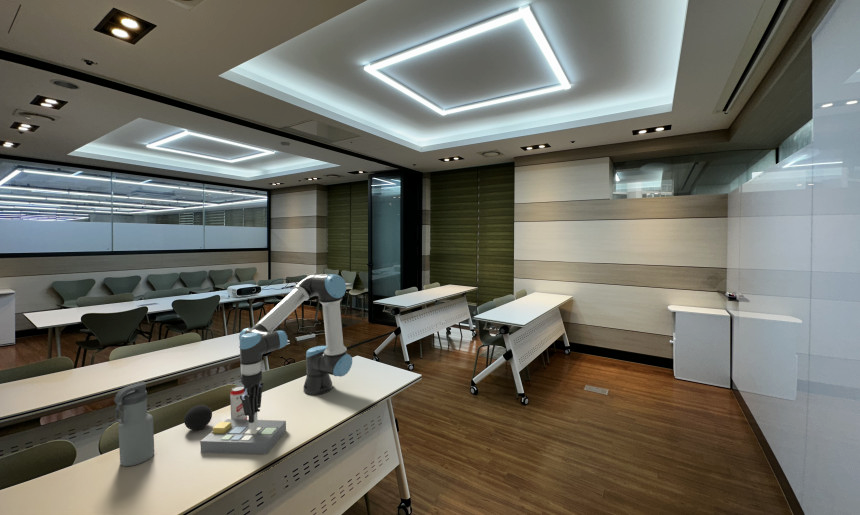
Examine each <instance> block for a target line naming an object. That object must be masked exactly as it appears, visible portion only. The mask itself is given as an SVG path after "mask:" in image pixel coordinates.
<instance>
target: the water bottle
mask: <svg viewBox="0 0 860 515" xmlns="http://www.w3.org/2000/svg"><path fill="white" fill-rule="evenodd" d="M146 387H147V382H146V381H145V382H144V381H143V382H142V381H141V382H138V383H135V384H131V385H127V386H124V387H122V388H120V390H119V391H117V393H116V394H115V395H114V403H115V404H116V407H115V411H114V412H115V419H116V422H118V423H119V424H118V446H119V447H118V448H119V463H120V465H121V466H123V467H131V466H132V467H133V466H137V465H139V464H142V463H144V462H147V461H148V460H150V459H151V458H152V457H153V456H154V454H155V436H154V434H155V433H154V432H155V430H154V418H153V415H152V414H150V413H148V405H147V404H148V402H147V400H148V391H147V389H146ZM122 406H123V409H122ZM119 412H120V417H119Z"/></svg>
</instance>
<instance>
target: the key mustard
mask: <svg viewBox="0 0 860 515" xmlns="http://www.w3.org/2000/svg"><path fill="white" fill-rule="evenodd" d="M230 428H231V422H224V421H220V422H218V423H216V425H215V426H213V427H212V431H213V433H217V434H225V433H226V432H227V431H228V430H229V429H230Z"/></svg>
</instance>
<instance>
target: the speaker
mask: <svg viewBox="0 0 860 515" xmlns="http://www.w3.org/2000/svg"><path fill="white" fill-rule="evenodd" d="M212 411H213V410H212V409H211V408H210V407H209V406H207V405H206V404H198V405H195V406H193V407H191V408H189V410H188V411H187V412H186V413H185V416H184V418H183V419H184V420H183V422H184V426H185V427H186V428H187V429H188V430H191V431H199V430H201V429H204V428H205V427H206V426H208V425H209V423H210V422H211V421H212V418H213V412H212Z"/></svg>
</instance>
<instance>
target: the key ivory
mask: <svg viewBox="0 0 860 515" xmlns="http://www.w3.org/2000/svg"><path fill="white" fill-rule="evenodd" d="M261 429H262V427H258V428H257V429H256V430H249V429H248V430H247V431H246V432H245V433H244V434H252V435H256V434H257V433H258V432H259V431H260V430H261Z"/></svg>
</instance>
